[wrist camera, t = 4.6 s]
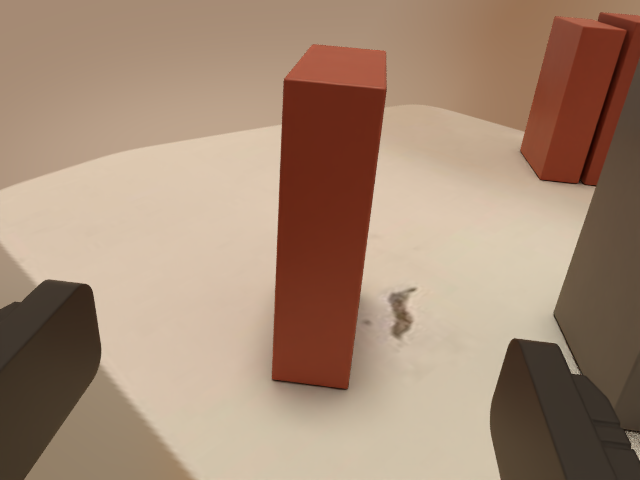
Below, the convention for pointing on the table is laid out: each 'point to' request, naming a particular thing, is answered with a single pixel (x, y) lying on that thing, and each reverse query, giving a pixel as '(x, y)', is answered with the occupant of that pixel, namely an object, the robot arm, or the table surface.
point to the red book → (325, 209)
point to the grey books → (610, 274)
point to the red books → (580, 96)
